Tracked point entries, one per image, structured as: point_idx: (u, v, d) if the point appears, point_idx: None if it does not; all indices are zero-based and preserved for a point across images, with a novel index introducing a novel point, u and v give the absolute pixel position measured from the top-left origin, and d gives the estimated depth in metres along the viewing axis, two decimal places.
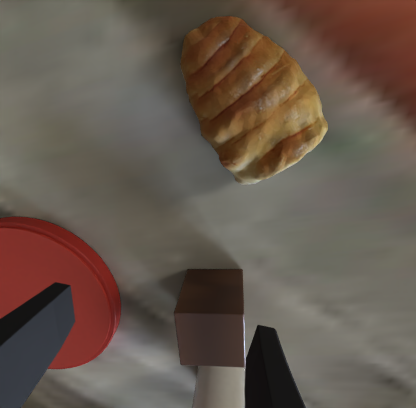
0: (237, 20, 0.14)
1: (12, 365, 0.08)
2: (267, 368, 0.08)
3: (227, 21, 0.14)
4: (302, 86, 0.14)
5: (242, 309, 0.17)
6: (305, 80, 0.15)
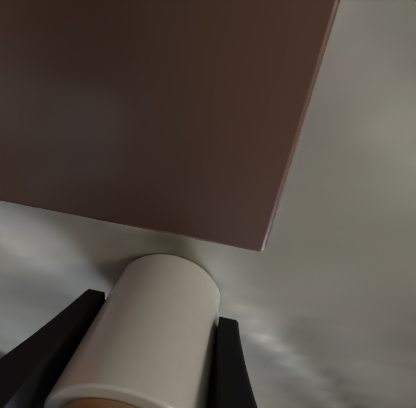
0: None
1: (54, 375, 0.08)
2: (220, 358, 0.08)
3: None
4: None
5: None
6: None
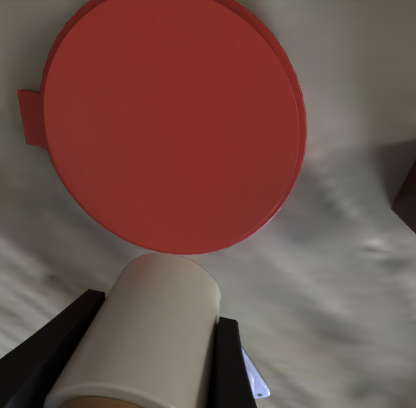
0: None
1: (55, 375, 0.08)
2: (220, 358, 0.08)
3: None
4: None
5: None
6: None
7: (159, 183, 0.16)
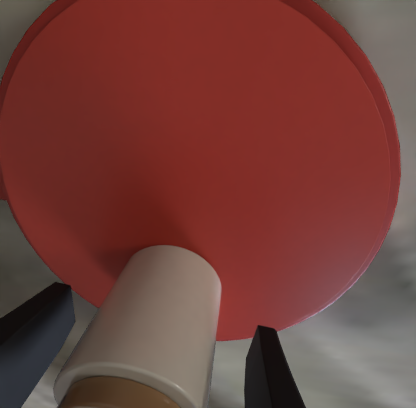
0: None
1: (12, 365, 0.08)
2: (267, 368, 0.08)
3: None
4: None
5: None
6: None
7: None
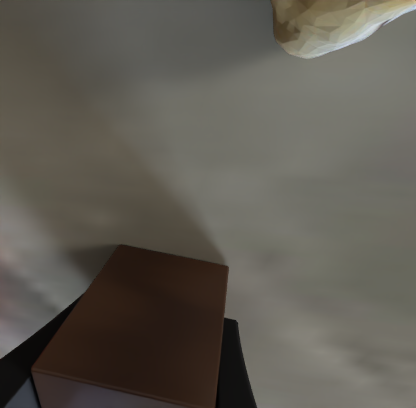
0: None
1: None
2: (220, 358, 0.08)
3: None
4: None
5: (213, 391, 0.06)
6: None
7: None
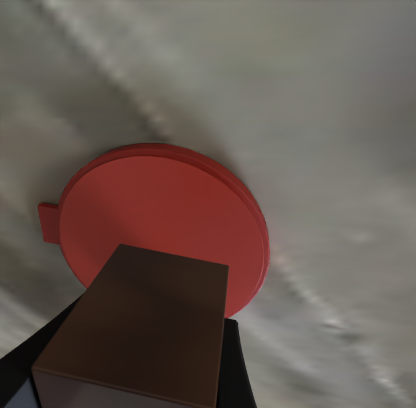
0: None
1: None
2: None
3: None
4: None
5: (213, 389, 0.06)
6: None
7: None
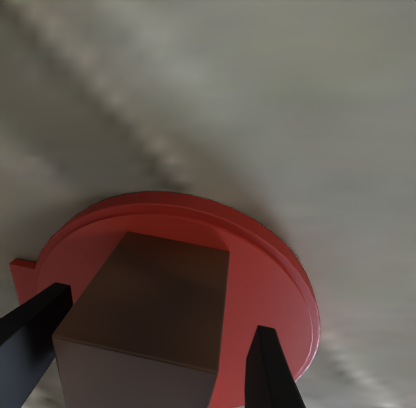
0: None
1: (12, 365, 0.08)
2: (267, 368, 0.08)
3: None
4: None
5: (216, 356, 0.07)
6: None
7: None
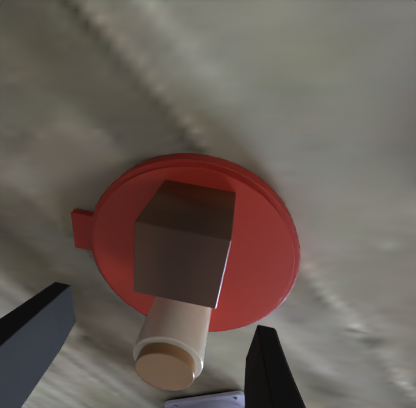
0: None
1: (12, 365, 0.08)
2: (267, 368, 0.08)
3: None
4: None
5: (230, 234, 0.12)
6: None
7: None
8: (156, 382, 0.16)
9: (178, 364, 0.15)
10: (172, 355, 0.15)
